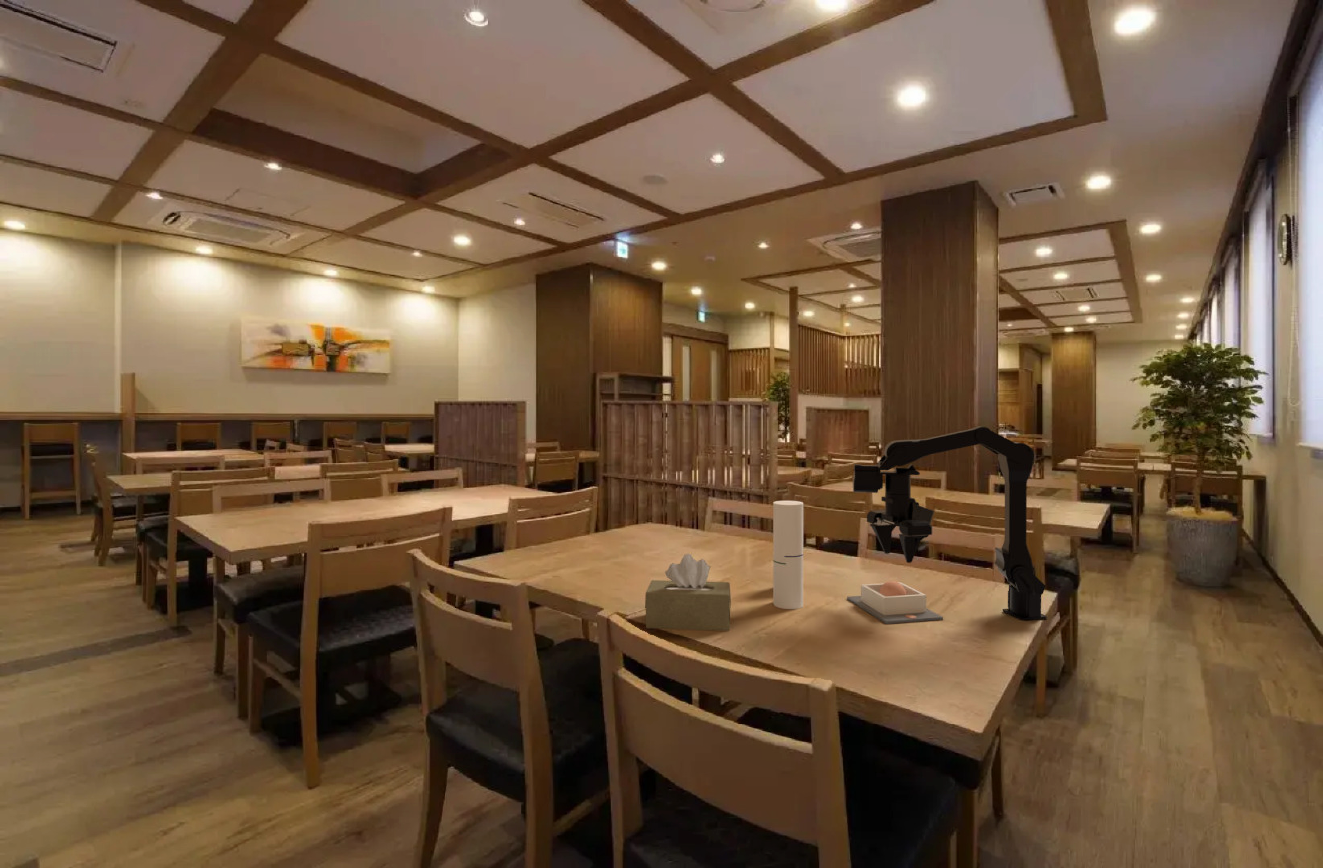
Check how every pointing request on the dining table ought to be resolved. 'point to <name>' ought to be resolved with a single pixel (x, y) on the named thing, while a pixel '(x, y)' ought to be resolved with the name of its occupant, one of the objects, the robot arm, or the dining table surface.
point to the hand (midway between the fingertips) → (897, 557)
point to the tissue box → (688, 599)
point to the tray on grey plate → (894, 605)
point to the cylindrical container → (788, 554)
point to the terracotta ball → (892, 589)
